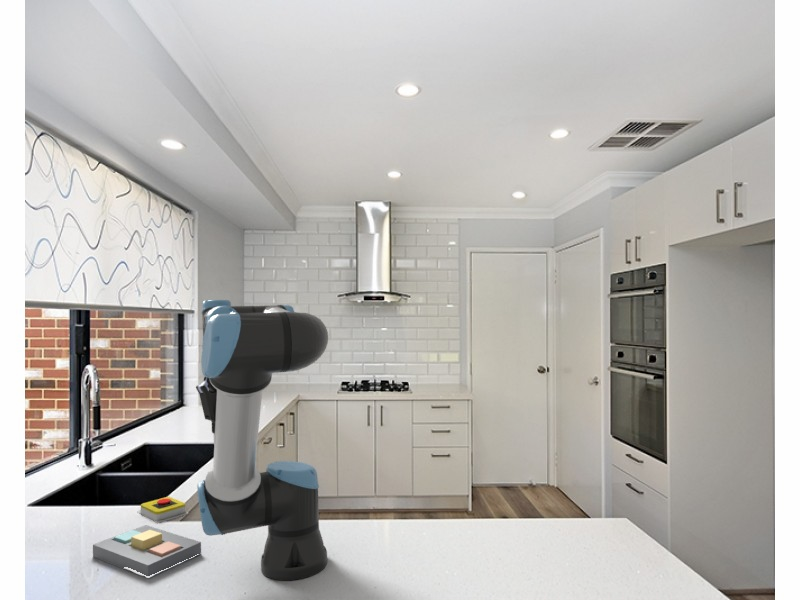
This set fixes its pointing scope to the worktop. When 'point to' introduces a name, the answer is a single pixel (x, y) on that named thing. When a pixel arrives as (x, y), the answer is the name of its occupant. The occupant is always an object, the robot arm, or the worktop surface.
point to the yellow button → (146, 539)
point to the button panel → (145, 552)
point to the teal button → (126, 536)
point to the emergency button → (163, 509)
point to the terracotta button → (164, 549)
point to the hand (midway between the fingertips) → (219, 444)
